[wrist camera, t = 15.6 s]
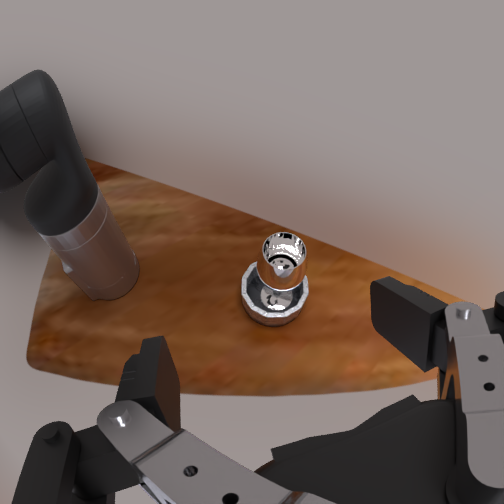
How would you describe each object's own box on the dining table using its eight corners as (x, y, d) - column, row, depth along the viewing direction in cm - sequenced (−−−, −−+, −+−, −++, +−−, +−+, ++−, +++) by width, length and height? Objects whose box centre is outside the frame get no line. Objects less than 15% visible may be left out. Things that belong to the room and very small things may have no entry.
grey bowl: (262, 338, 42) (263, 329, 39) (231, 287, 46) (229, 275, 42) (315, 307, 44) (320, 296, 41) (282, 261, 48) (284, 247, 45)
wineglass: (276, 269, 46) (284, 219, 36) (305, 296, 44) (322, 251, 34) (247, 294, 44) (245, 249, 34) (276, 323, 42) (284, 285, 32)
